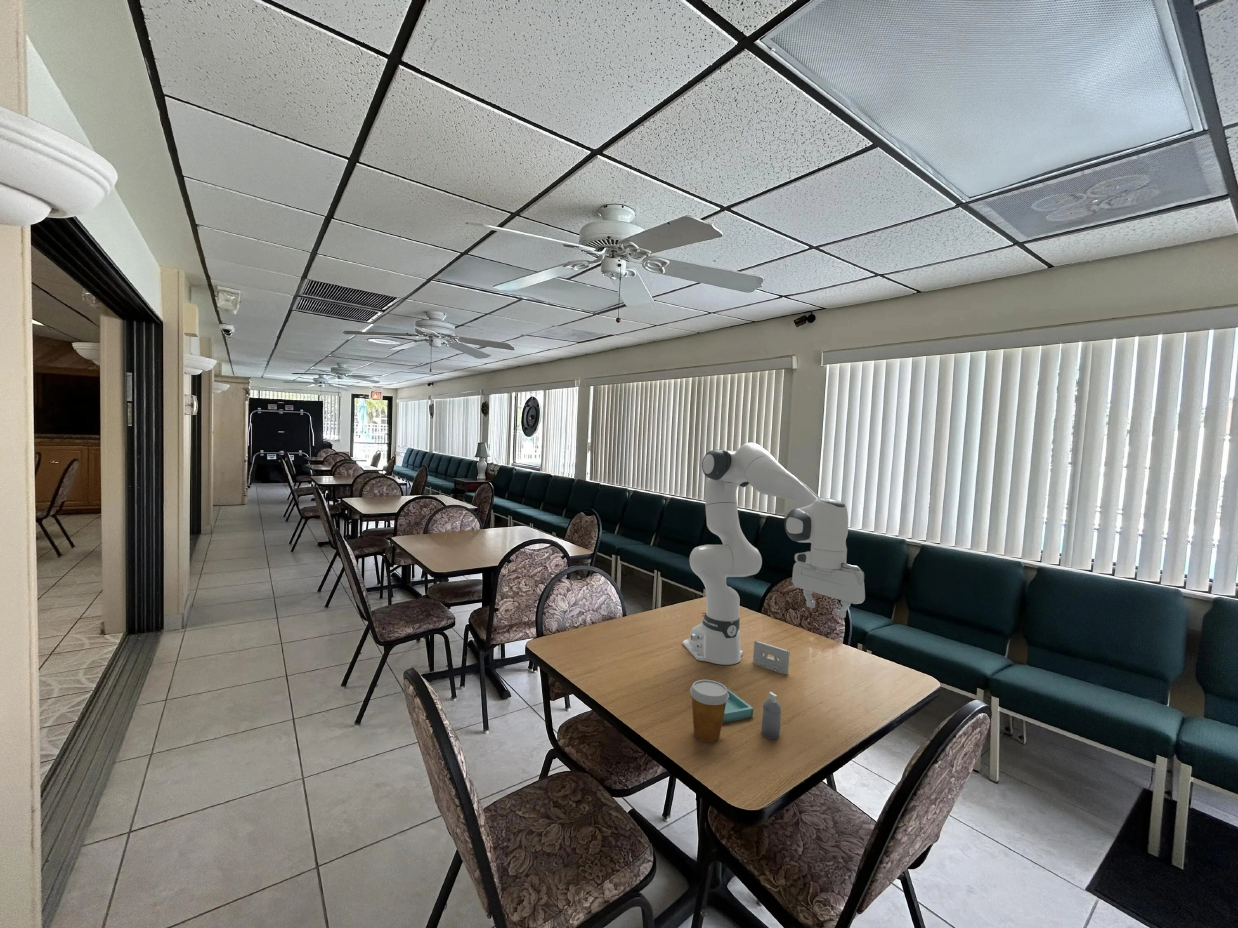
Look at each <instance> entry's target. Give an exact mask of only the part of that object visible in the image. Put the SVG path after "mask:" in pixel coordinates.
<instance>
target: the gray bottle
mask: <svg viewBox="0 0 1238 928" xmlns="http://www.w3.org/2000/svg"><path fill="white" fill-rule="evenodd" d="M777 699H778V695H777V694H776V693H774V692H773V691H769V692H768V699H767V700H765V701H764V703H763V705H762V717H761V735H762V736H763V737H765V738H767V739H769V740H770V739H771V740H777V739H779V738H780V735H781V734H780V733H781V719H782V706H781V704H780V703H779V701H778V700H777Z"/></svg>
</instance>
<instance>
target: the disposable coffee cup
mask: <svg viewBox="0 0 1238 928" xmlns="http://www.w3.org/2000/svg"><path fill="white" fill-rule="evenodd" d="M727 689H728V687H726V686H725V685H724V684H723V683H721V682H719V681H715V680H713V679H712V680H710V679H700V680H696V681H694V682H693V683H692V685H691V687H690V689H689V693H690V697H691V704H692V721H693V722H692V723H693V734H694V737H695V738H697V739H698V740H699V741H702V742H705V743H715V742H717V741H719V740H720V737H721V732H722V727H723V726H722V725H723V723H722V722H723V717H724V711H725V706H726V702H727V700H728V698H729V694H728V692H727Z"/></svg>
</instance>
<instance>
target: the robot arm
mask: <svg viewBox="0 0 1238 928" xmlns="http://www.w3.org/2000/svg"><path fill="white" fill-rule="evenodd" d="M701 468H702V472H703V474H704V476H705V477H706V478H708V479H707V481H706V486H705V493H704V494H705V495H704V496H705V497H704V498H705V499H704V500H705V501H704V503H705V504H704V506H705V517H706V526H707V529H708V530H709V531H710V532H711V533H712V534H714V535H716V536H717V537H719V539H720V540H721V542H722V544H704V545H703V544H702V545H699V546H696V547H694V548H693V549H692V551H691V552H690V554H689V560H688V562H689V566H690V568H691V571H692V572H693V573H694V574H695V575H696V576H698V578H699V579H700V580H701V582H702V583H703V585H704V587H705V594H706V608H705V609H706V611H705V612H703V613H701V617H703V619H702V621H701V623H698V625H696V626H693V627H692V628H691V630H690V634H689V638H686V639H684V640H683V641H682V645H683V646H684V647H685V648H686V650H687V651H688V652H689V653H690V654H691V655H692V656H693V657H694V658H695V660H697V661H701V662H708V663H712V664H715V665H716V664H717V665H723V666H726V665H727V666H731V665H735V664H738V663H739V662H741V661H742V658H741V657H742V655H743V650H742V648H741V631H740V630H739V629H740V624H741V622H740V620H741V619H740V617H739V615H740V603H741V601H740V600H741V599H740V595H739V593H738V592H737V591H736V590H735V589H734V588H732V587H731V586H728V585H727V578H745V577H750V576H753V575H756V574H758V573H759V572H760V570H761V568H762V565H763V558H762V555H761V553H760V551H759V549H758V548H757V547H755V546H754V545H752V543H750V542H749V541H748V539H747V538H746V536H745V534H744V533H743V531H742V528H741V525H740V518H739V512H738V511H739V510H738V503H737V493H736V492H737V489H738V487H739V486H740V487H741V488H746V487H747V486H748V485H750V486H751V487H752V488H753V489H754V490H755V491H757V492H758V493H760V494H763V495H765V496H766V495H767V496H771V497H777V498H780V499H785V500H788V501H791V502H792V503H794V504H796V505H797V506H798V507H799V508H793V509H791V510H790V511H789V512H788V513H787V514H786V517H785V520H784V529H785V532H786V534H787V536H788V538H790V540H791V541H793V542H797V543H810V544H811V545H810V550H807V551H805V552H804V551H803V552H797V553H795V554H794V561H795V563H794V564H793V567H792V577H791V578H792V584H793V587H795V588H798V589H802V590H803V596H804V598H805V600H806V607H807V608H811V609H814V608H816V600H814V598H813V595H812V594H813V593H816V594H818V595H822V596H826V597H829V598H833V599H836V600H839V601H840V605H841V607H840V609H836V617H838V618H840V619H841V618H842V619H845V618H846V616H847V611H848V610H849V609H850V607H851V604H853V605H858V604H862V603H864V601H865V599H866V590H865V573H864V571H863V570H862V569H861V568H860V567H859V566H858V565H851V564H850V563H849V564H848V563H847V556H848V555H847V554H848V547H847V541H846V540H847V538H848V533H849V514H848V508H847V506H846V504H845V503H844V502H843V501H841V500H838V499H835V498H834V499H833V498H828V497H820V496H819V495H818V494H817V493H816V492H815V491H814V490H812V489H811V488H810V487H809V486H808V485H807V484H805V482H803V481H802V480H801V479H799V478H798V477H796V476H795V475H793V474H792V473H791V472H789V471H788V470H787V469H786V468H785V467H783V465H782V464H780V463H779V462H778V461H777V460H776V458H775V457H774V456H773V455H772V454H771V453H770V452H769V451H768V450H766V448H764V447H762V446H761V445H760V444H758V443H755V442H747V443H744V444H742V445H740V447H739V448H738V449H737V450H723V449H711V450H709V451H708V452H707V453H705V455H704V456H703V458H702V462H701Z"/></svg>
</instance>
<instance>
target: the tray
mask: <svg viewBox="0 0 1238 928" xmlns="http://www.w3.org/2000/svg"><path fill="white" fill-rule="evenodd" d="M727 692H728V694H729V698H728V700H727V702H726V706H725V711H724V717H723V722H722V724H726V723H731V722H735V721H740V720H745V719H748V718H749V719H751V718H753V716H754V707H752V706H751V705H750V704H749V703H748V702H746V701H745V700H743V699H742V698H741V697H739V695H737V694H735V693H734V692H733V691H731V690H730V689H729V688H727Z"/></svg>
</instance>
